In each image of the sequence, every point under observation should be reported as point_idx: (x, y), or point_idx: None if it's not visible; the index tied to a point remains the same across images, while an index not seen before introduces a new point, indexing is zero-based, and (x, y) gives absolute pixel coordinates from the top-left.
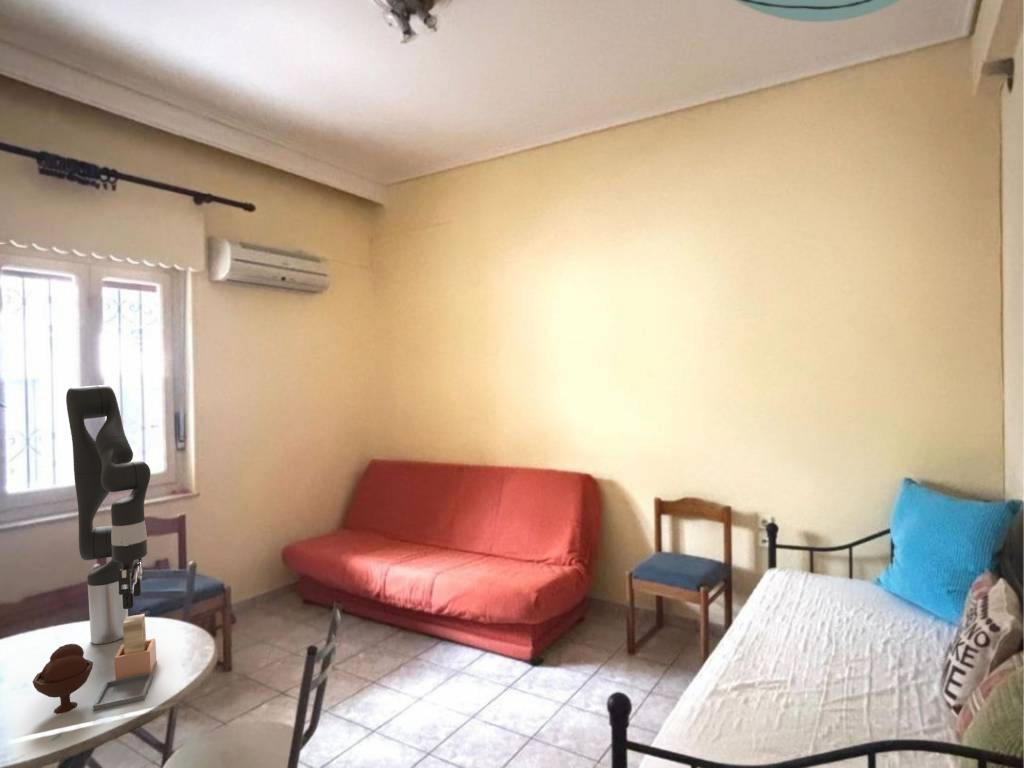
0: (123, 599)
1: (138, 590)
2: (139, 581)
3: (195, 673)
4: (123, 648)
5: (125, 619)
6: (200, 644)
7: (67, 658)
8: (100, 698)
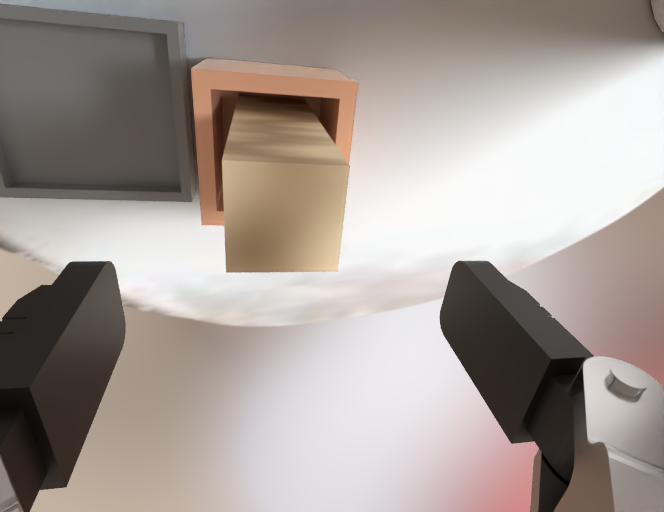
0: (15, 341)
1: (463, 346)
2: (525, 435)
3: (187, 305)
4: (312, 95)
5: (297, 166)
6: (394, 295)
7: None
8: (22, 19)
